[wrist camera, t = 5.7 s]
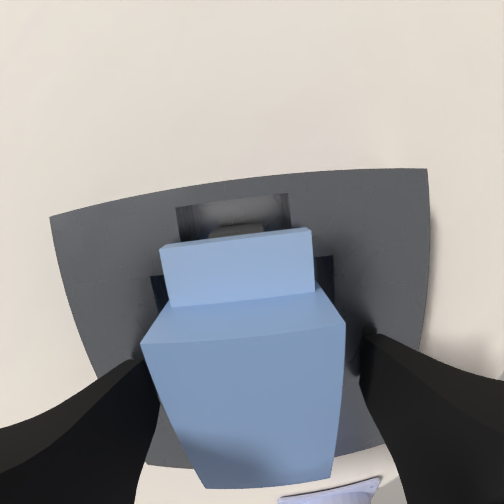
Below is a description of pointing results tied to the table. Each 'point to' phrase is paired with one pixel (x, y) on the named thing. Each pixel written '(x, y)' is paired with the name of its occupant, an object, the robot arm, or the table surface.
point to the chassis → (272, 218)
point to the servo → (249, 357)
